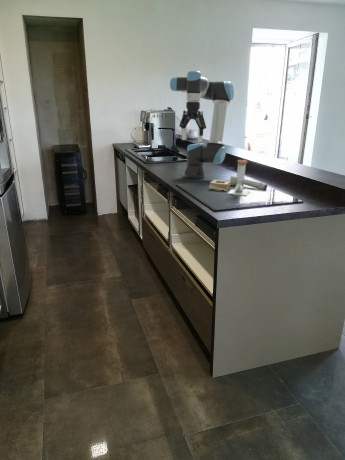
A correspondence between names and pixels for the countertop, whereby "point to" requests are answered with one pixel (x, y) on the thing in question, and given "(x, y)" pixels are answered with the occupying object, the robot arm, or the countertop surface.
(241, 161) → the steel plug
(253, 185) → the toothbrush head
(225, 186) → the bore block
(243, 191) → the rubber mat
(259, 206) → the countertop surface
